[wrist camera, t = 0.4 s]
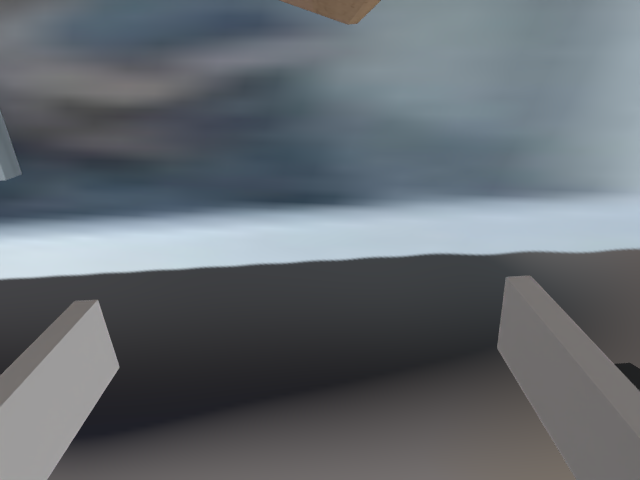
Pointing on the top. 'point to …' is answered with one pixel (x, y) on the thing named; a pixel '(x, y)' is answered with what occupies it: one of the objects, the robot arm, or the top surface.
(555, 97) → the top surface
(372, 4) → the wooden block
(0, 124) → the tray
